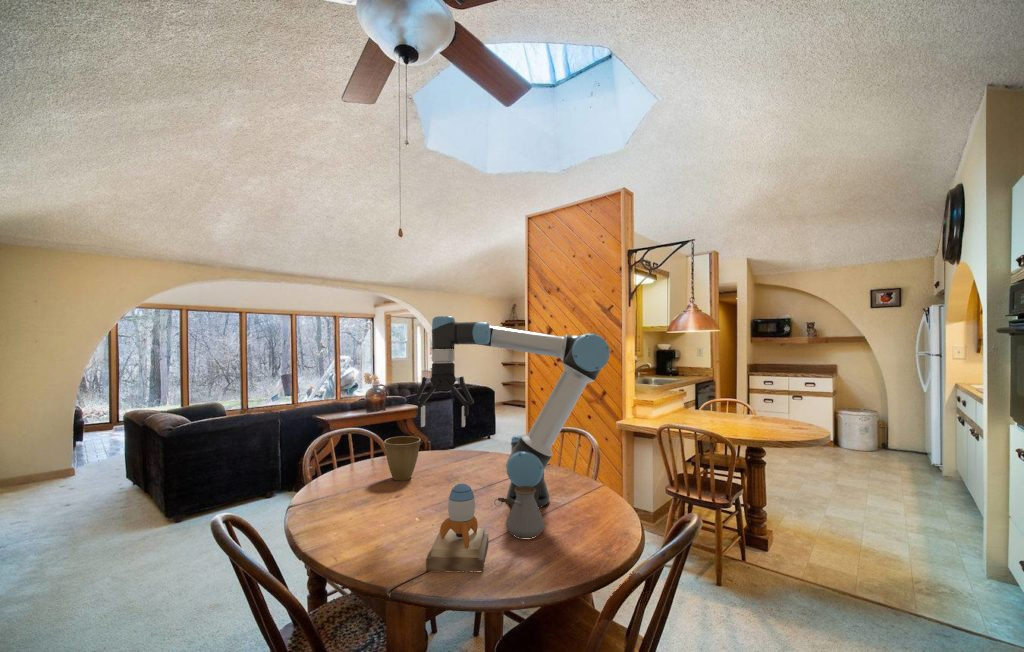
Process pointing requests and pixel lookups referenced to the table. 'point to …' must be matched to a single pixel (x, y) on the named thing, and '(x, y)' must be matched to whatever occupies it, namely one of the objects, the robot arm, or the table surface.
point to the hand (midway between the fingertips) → (443, 426)
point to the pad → (458, 561)
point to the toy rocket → (460, 513)
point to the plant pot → (402, 456)
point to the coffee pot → (524, 514)
